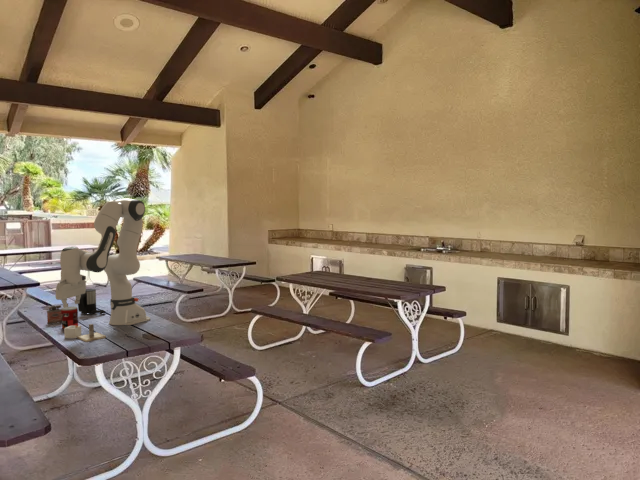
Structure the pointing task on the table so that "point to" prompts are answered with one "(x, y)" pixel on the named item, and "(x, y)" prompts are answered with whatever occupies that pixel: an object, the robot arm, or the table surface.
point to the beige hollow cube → (72, 331)
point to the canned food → (69, 316)
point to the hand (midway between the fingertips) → (71, 305)
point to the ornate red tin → (54, 315)
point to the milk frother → (88, 302)
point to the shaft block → (91, 335)
